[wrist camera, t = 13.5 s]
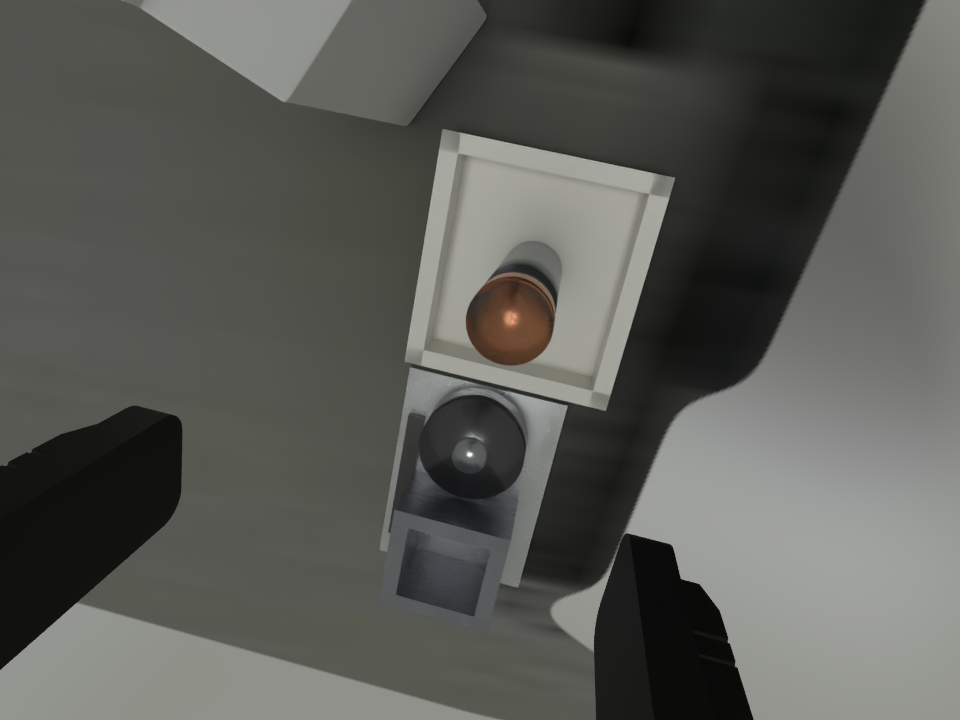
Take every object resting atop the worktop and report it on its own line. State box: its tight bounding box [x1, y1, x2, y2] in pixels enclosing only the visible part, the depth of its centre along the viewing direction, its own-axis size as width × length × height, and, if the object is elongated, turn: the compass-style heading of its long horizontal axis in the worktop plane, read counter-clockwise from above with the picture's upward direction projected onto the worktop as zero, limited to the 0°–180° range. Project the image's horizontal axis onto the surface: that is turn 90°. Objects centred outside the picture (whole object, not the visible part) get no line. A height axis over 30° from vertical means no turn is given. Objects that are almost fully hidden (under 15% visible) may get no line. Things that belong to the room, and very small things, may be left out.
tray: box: [405, 129, 675, 411], centre depth 34 cm, size 13×12×3 cm
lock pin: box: [466, 241, 562, 366], centre depth 29 cm, size 3×3×12 cm
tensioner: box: [378, 364, 568, 634], centre depth 37 cm, size 14×10×6 cm
